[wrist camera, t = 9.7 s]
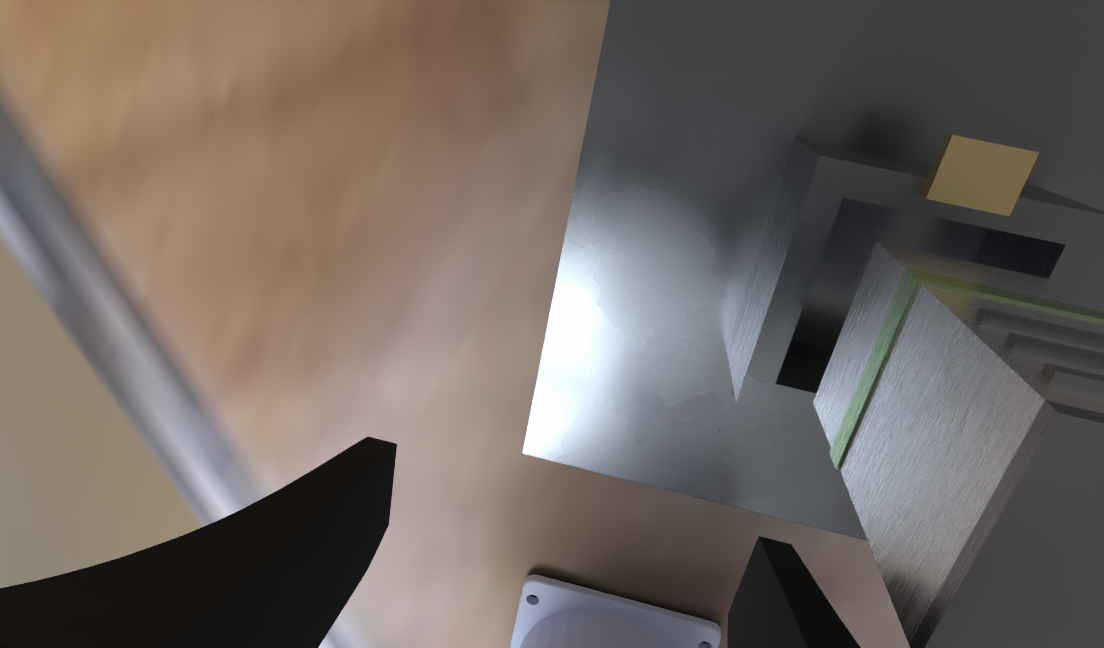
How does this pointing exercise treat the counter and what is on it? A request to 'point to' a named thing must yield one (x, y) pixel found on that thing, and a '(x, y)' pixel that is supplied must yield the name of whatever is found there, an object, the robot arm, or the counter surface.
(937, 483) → the column
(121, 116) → the counter surface
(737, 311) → the stand base
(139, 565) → the robot arm
